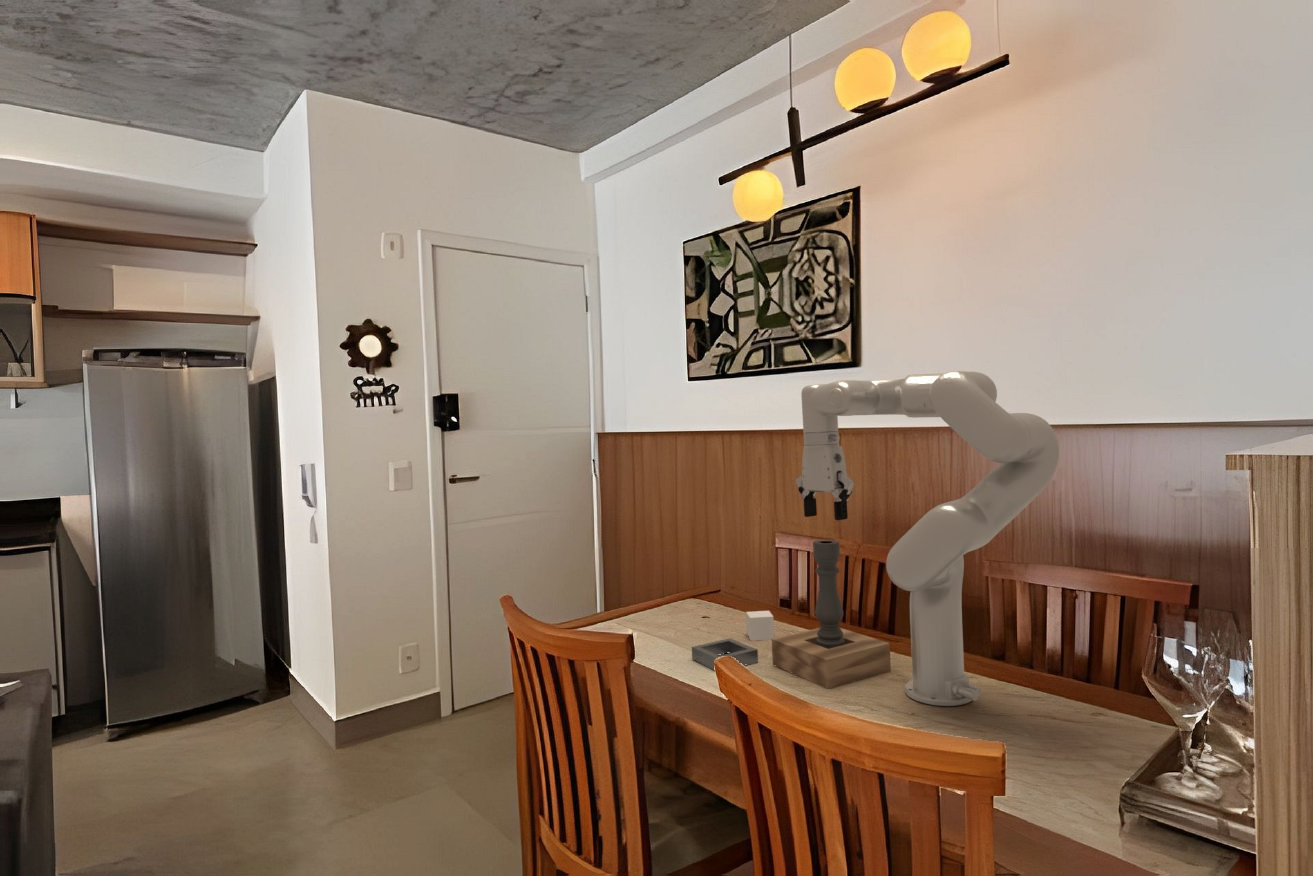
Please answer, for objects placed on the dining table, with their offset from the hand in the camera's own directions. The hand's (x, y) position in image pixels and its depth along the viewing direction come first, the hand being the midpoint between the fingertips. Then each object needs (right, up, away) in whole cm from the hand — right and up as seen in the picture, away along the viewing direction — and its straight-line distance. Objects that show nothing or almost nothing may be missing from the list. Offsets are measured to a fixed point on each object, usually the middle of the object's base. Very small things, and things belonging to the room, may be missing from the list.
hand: (825, 517), depth 158 cm
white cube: (-10, -34, +26) cm, 44 cm away
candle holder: (+1, -31, +1) cm, 31 cm away
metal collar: (-21, -34, +9) cm, 41 cm away
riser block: (+1, -33, +1) cm, 33 cm away
